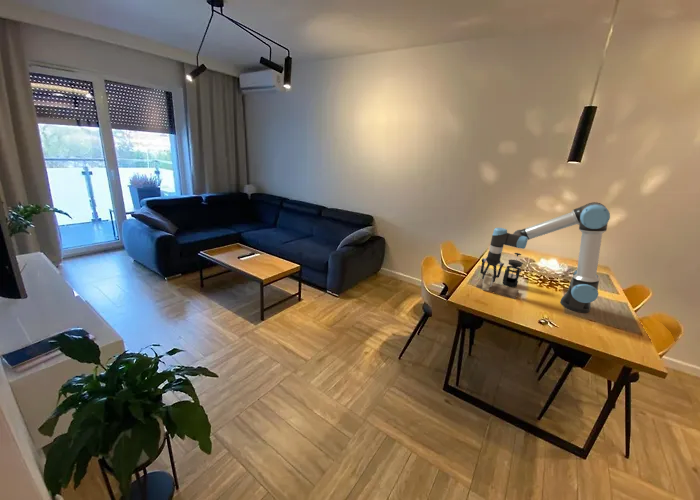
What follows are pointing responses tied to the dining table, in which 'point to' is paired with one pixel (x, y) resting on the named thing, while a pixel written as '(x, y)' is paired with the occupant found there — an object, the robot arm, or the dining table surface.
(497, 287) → the board
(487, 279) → the block
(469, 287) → the dining table surface
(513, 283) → the french press
